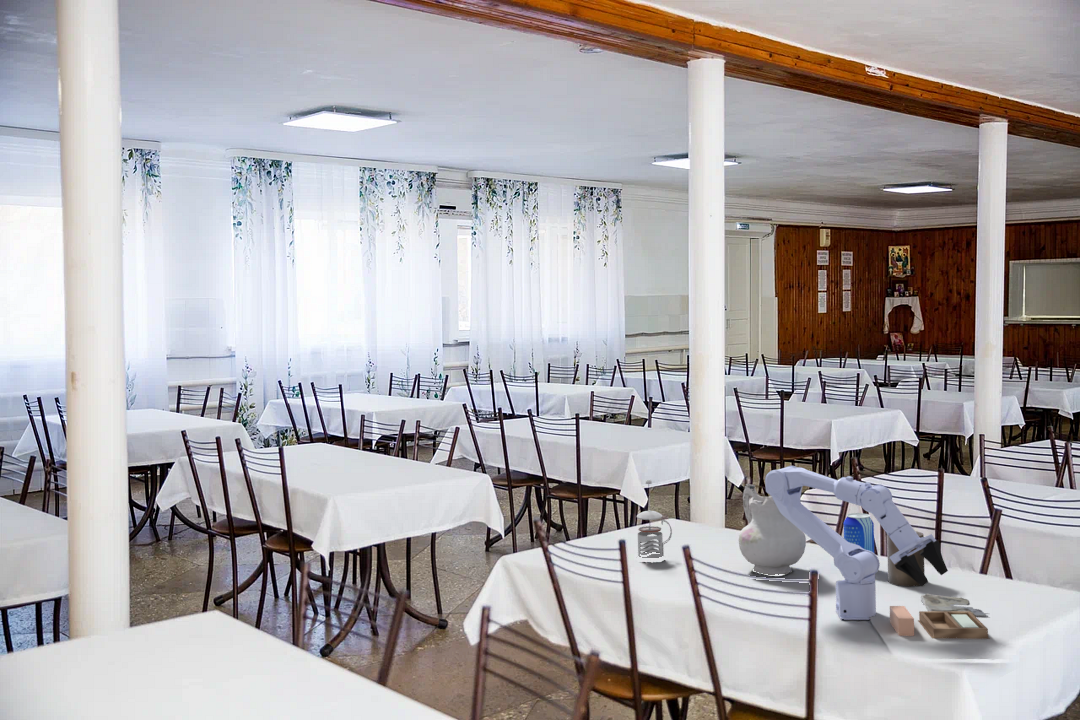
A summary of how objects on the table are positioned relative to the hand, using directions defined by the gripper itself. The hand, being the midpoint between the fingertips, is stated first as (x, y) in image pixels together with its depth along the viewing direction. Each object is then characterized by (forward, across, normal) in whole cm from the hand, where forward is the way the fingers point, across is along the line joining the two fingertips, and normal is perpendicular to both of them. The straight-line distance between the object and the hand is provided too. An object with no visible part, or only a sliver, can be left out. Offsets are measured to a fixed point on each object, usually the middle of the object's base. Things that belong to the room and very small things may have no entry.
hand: (935, 578), depth 242 cm
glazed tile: (+13, +1, +3) cm, 13 cm away
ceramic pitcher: (-28, +9, +60) cm, 66 cm away
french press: (-50, -8, +84) cm, 98 cm away
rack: (+12, -1, +5) cm, 13 cm away
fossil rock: (+8, +15, +16) cm, 23 cm away
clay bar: (+6, -10, +10) cm, 15 cm away
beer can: (-15, +29, +49) cm, 59 cm away
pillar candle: (-5, +27, +35) cm, 45 cm away
